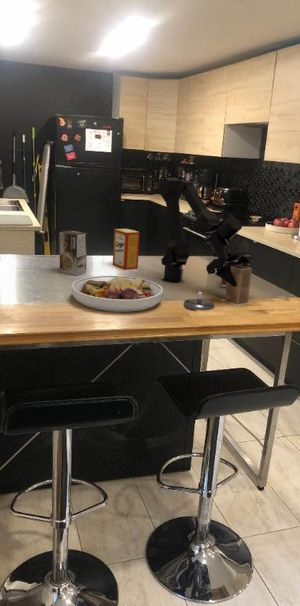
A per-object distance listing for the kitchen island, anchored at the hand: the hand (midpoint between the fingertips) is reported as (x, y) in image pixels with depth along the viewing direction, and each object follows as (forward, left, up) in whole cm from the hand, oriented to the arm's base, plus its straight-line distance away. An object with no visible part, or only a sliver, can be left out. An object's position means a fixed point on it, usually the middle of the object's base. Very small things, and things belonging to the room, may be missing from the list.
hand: (241, 285), depth 168 cm
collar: (-1, +1, -6) cm, 6 cm away
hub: (-11, -11, -7) cm, 17 cm away
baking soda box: (-55, +28, -7) cm, 62 cm away
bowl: (-37, -19, -7) cm, 42 cm away
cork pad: (-1, +1, -7) cm, 7 cm away
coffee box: (-68, +6, -7) cm, 69 cm away
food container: (-8, +22, -7) cm, 24 cm away
